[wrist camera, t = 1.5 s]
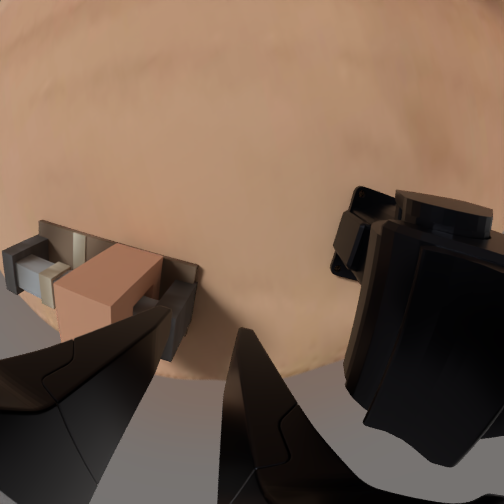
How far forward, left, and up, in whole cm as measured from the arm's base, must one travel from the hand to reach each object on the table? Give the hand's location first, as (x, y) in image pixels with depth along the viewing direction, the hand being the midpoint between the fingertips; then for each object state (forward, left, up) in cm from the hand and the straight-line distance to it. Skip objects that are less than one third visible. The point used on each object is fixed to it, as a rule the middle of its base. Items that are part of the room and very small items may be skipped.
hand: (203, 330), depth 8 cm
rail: (+11, +6, -12) cm, 17 cm away
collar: (+7, +6, -12) cm, 15 cm away
